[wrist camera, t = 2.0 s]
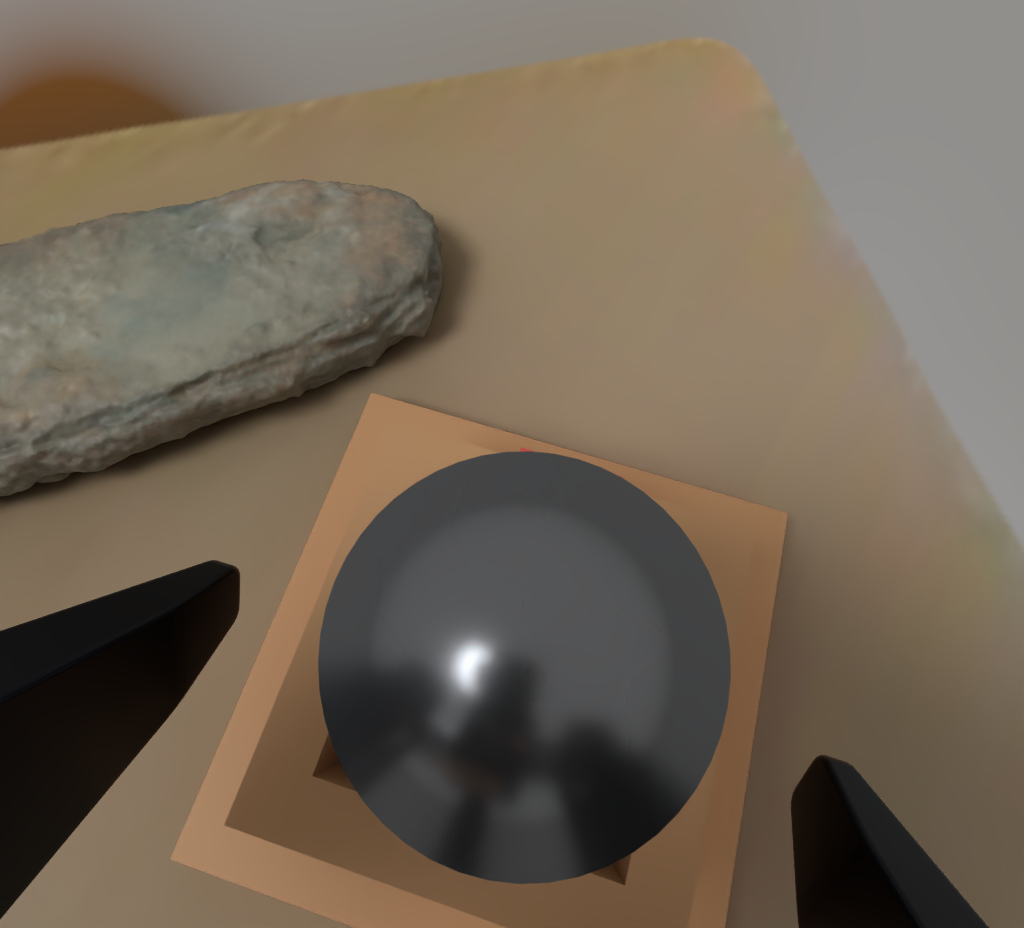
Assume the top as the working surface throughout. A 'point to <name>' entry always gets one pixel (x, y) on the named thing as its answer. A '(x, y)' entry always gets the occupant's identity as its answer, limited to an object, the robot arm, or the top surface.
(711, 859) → the orange square socket base
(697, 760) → the cylinder
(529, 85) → the top surface
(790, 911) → the top surface
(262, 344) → the elongated rock
